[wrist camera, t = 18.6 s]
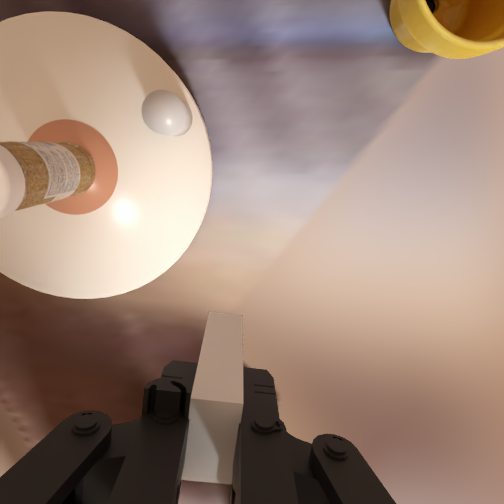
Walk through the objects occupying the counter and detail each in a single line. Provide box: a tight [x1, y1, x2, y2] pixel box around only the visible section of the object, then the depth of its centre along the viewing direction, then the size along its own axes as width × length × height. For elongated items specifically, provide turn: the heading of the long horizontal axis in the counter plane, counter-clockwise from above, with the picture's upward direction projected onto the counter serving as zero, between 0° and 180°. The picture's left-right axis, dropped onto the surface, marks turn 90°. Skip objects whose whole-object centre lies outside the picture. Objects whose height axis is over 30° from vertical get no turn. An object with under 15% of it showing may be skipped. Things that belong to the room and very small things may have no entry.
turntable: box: [0, 11, 213, 299], centre depth 32 cm, size 24×24×7 cm
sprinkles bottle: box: [0, 141, 96, 218], centre depth 27 cm, size 5×5×14 cm
